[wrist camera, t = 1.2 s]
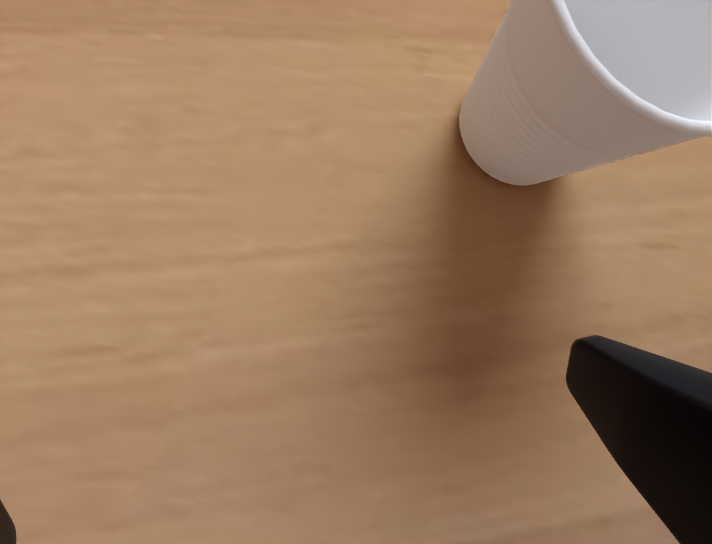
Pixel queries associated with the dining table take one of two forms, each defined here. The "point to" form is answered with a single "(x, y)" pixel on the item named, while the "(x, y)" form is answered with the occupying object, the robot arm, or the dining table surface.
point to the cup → (588, 85)
